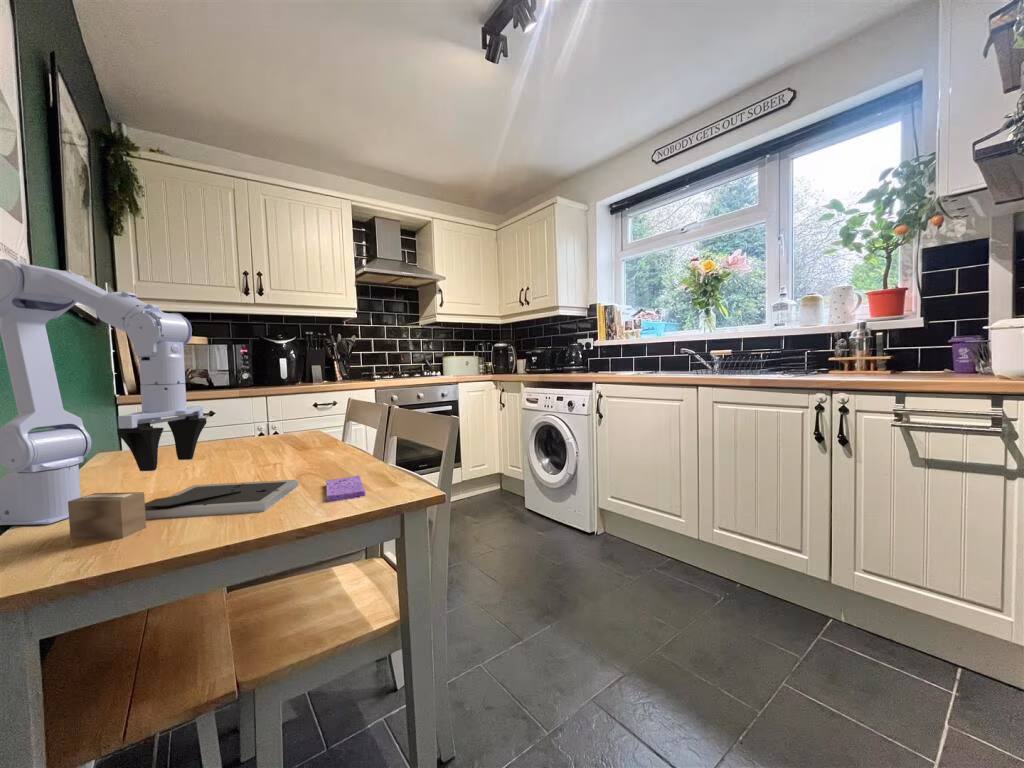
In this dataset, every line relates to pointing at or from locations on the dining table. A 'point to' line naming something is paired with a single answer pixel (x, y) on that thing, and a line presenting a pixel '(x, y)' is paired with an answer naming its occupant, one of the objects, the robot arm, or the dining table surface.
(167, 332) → the robot arm
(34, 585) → the dining table surface
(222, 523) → the dining table surface
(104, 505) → the walnut block
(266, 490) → the picture frame
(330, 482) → the sponges
